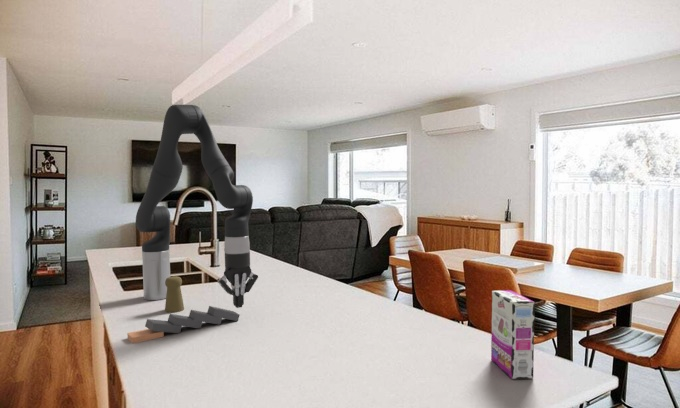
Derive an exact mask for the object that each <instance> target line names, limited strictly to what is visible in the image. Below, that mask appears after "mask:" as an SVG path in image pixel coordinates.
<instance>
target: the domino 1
mask: <svg viewBox="0 0 680 408" xmlns="http://www.w3.org/2000/svg"><path fill="white" fill-rule="evenodd" d="M144 326H145V328H146V329H150V330H151V331H159V332H164V333H173V334H180V333H181V332H182V331H181V330H182V327H183V326H179V325H173V324H172V323H170V322H169V321H168V320H161V319H149V318H147V319H146V321H145V325H144Z"/></svg>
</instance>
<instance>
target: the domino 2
mask: <svg viewBox="0 0 680 408" xmlns="http://www.w3.org/2000/svg"><path fill="white" fill-rule="evenodd" d="M168 315H169V316H168V318H167V321H169V322H170V323H172V324H173V325H179V326H182V327H186V328H187V327H188V328H194V329H201V328H202V324H203V322H201V321H195V320H193V319H192V318H190V317H189V315H188V316H187V315H182V314H176V313H169V314H168Z"/></svg>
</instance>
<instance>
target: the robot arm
mask: <svg viewBox="0 0 680 408" xmlns="http://www.w3.org/2000/svg"><path fill="white" fill-rule="evenodd" d="M165 112H166V113H165V115H164V120H163V124H162V130H161V131H162V132H161V135H160V136H161V137H160V141H159V145H158V150H157V152H156V156H155V159H154V163H153V166H152V168H151V172H150V175H149V176H150V177H149V178H148V179H149V180H148V184H147V187H146V189H145V193H144V195H143V198H142V199H141V202H140V204H139V206H138V209H137V211H136V215H135V226H136V229H137V231H139V232H140V233H155V235H154V236H153V237H152V238H151V239H149V240H146V241H145V242H143V243H142V244H141V259H142V260H141V261H142V279H143V281H142V283H143V287H142V288H143V299H144V300H147V301H156V300H157V301H158V300H164V299H165V300H166V294H167V287H166V285H165V281H166V279H167V278H168V277H171V261H170V255H171V254H170V243H171V213H170V210H169V208H168V207H167V206H164V205H158V204H159V203H160V202H162V200H163V199H164V198H166V197H167V196H168V195H169V194H170V193H172V192H173V191H174V189H175V188H176V187H177V186H178V184H179V181H180V179H181V177H182V176H181V175H182V173H183V167H184V166H183V162H182V159H181V156H180V154H179V151H178V145H179V144H178V143H179V141H180V137H181V136H182V135H189V134H190V135H195V136H196V138H197V140H198V141H199V143H200V145H201V151H200V152H201V154H200V157H201V158H200V159H201V164H202V166H203V168H204V170H205V172H206V174H207V175H208V177H209V178H210V180H211V182H212V184H213V188H214V189H213V190H214V191H215V196H216V198H217V201H218V202H219V205H221V206H222V207H223V208H225V209H228V210H232V214H231V215H230V216H229V217H226V218H225V220H224V245H223V246H224V248H223V251H224V272H223V276H221V277H220V278H217V280H216V282H217V283H218V284H219V286H221V288H222V289H223V290H224V291H225V293H227V294H229V295H230V296H232V303H233V306H235V308H237V309H241V308H242V307H243V305H244V301H245V297H244V295H245V294H246V293H249V292H250V291H251V290H252V288H253V286H254V285H255V284H256V281H257V280H258V278H259V275H257V274H255V273H254V272H252V269H251V250H250V249H251V247H250V245H251V244H250V237H249V232H250V231H249V220H250V217H251V213H252V212H251V211H252V208H253V201H254V196H253V192H252V190H251V188H249V186H247V185H243V184H235V185H234V184H232V181H233V179H234V178H235V173H234V171H233V168H232V167H231V166H230V164H229V162H228V161H227V159H226V158H225V156H224V154H223V153H222V151H221V150H220V147H219V146H218V143H217V141H216V138H215V136H214V133H213V131H212V129H211V126H210V124H209V122H208V119H207V117H206V114H205V113H204V111H203V109H201V108H200V107H199V106H197V105H195V104H172V105H170V106H169V107H168V108H167V110H166V111H165ZM228 282H229V283H230V286H229V285H228V284H227V283H228Z"/></svg>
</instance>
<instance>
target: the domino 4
mask: <svg viewBox="0 0 680 408" xmlns="http://www.w3.org/2000/svg"><path fill="white" fill-rule="evenodd" d="M207 313H209V314H211V315H212V316H215V317H220V318H222V319H225V320H229V321H235V322H238V321H239V318H240V314H239V313H237V312H236V311H234V310H230V309H227V308H226V309H225V308H220V307H217V306H212V305H209V306H208V309H207Z"/></svg>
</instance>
